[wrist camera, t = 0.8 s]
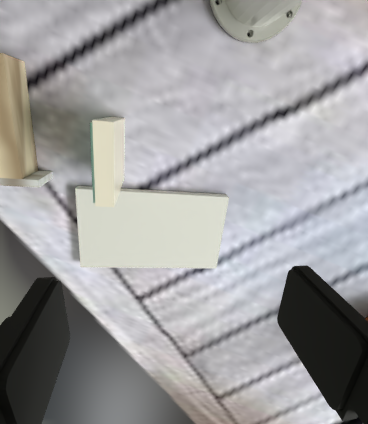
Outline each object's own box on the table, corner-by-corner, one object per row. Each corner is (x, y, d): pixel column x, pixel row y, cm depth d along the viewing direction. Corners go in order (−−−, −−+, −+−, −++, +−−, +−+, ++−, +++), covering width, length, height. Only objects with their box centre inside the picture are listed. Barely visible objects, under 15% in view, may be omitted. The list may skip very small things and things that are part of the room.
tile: (108, 116, 34) (88, 119, 23) (124, 118, 35) (113, 122, 24) (109, 178, 38) (92, 206, 27) (124, 179, 38) (114, 207, 27)
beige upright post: (2, 174, 36) (-20, 184, 31) (-20, 55, 30) (-50, 46, 25) (53, 177, 37) (39, 187, 32) (41, 63, 31) (22, 56, 27)
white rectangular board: (77, 185, 38) (75, 188, 36) (226, 194, 41) (228, 197, 40) (82, 262, 43) (80, 267, 41) (214, 263, 47) (216, 268, 45)
